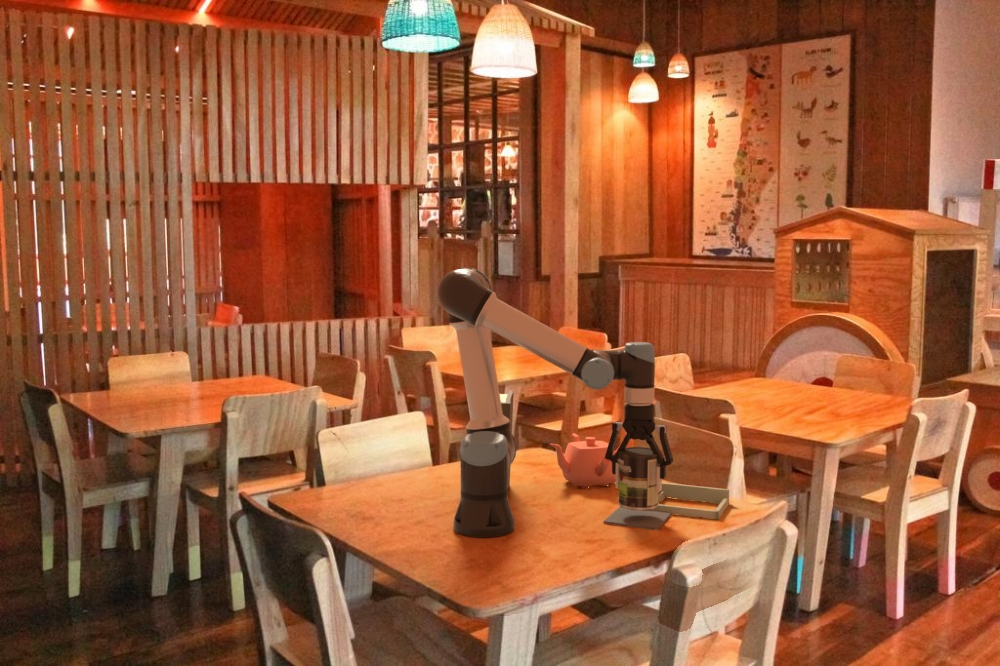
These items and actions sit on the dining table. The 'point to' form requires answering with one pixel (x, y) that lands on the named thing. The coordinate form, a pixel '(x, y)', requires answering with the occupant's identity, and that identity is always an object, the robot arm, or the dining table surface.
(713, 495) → the rack
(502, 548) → the dining table surface
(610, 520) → the mat
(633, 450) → the coffee can
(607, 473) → the teapot
